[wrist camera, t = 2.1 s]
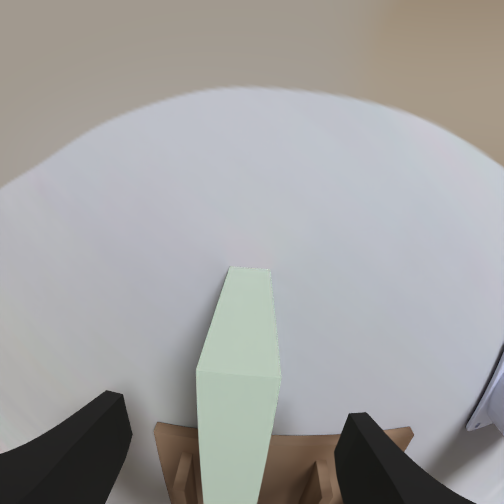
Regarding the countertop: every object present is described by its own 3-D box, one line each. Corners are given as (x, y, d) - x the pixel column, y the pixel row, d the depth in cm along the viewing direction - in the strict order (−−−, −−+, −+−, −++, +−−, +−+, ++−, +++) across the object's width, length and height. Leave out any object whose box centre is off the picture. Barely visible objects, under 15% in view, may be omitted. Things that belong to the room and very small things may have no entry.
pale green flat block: (270, 269, 12) (281, 377, 5) (254, 415, 14) (250, 531, 7) (230, 266, 12) (196, 370, 5) (223, 412, 14) (206, 527, 7)
